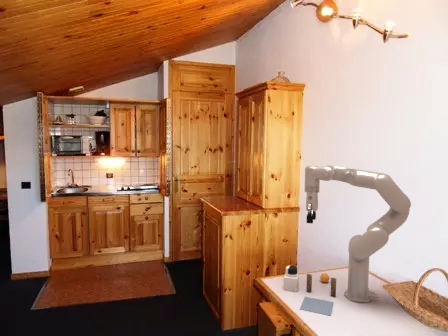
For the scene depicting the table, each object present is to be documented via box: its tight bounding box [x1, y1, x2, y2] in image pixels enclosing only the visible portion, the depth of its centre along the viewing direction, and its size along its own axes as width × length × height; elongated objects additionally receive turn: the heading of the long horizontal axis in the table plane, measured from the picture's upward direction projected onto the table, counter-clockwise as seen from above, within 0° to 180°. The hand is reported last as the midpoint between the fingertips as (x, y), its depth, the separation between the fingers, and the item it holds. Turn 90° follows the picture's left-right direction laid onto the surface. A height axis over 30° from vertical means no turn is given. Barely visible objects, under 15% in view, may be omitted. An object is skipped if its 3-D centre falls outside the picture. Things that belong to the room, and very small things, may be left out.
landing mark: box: [299, 296, 335, 317], centre depth 154 cm, size 14×14×1 cm
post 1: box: [306, 273, 313, 294], centre depth 169 cm, size 3×3×9 cm
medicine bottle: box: [283, 265, 300, 293], centre depth 173 cm, size 7×7×12 cm
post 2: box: [329, 277, 337, 298], centre depth 164 cm, size 3×3×9 cm
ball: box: [319, 272, 330, 283], centre depth 181 cm, size 5×5×5 cm
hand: (311, 221), depth 171 cm, fingers open, 9 cm apart
